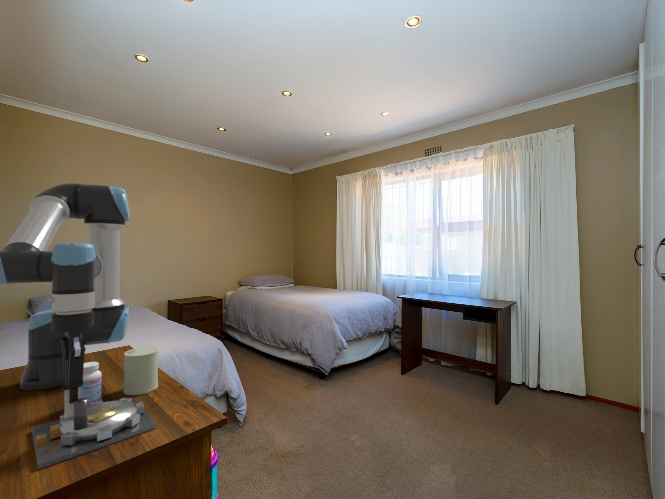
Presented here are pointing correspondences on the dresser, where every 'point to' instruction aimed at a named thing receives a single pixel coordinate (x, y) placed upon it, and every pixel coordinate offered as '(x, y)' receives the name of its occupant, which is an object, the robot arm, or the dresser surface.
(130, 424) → the sprocket
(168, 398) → the dresser surface
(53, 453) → the base plate
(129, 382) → the pale green cylinder
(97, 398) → the pill bottle
